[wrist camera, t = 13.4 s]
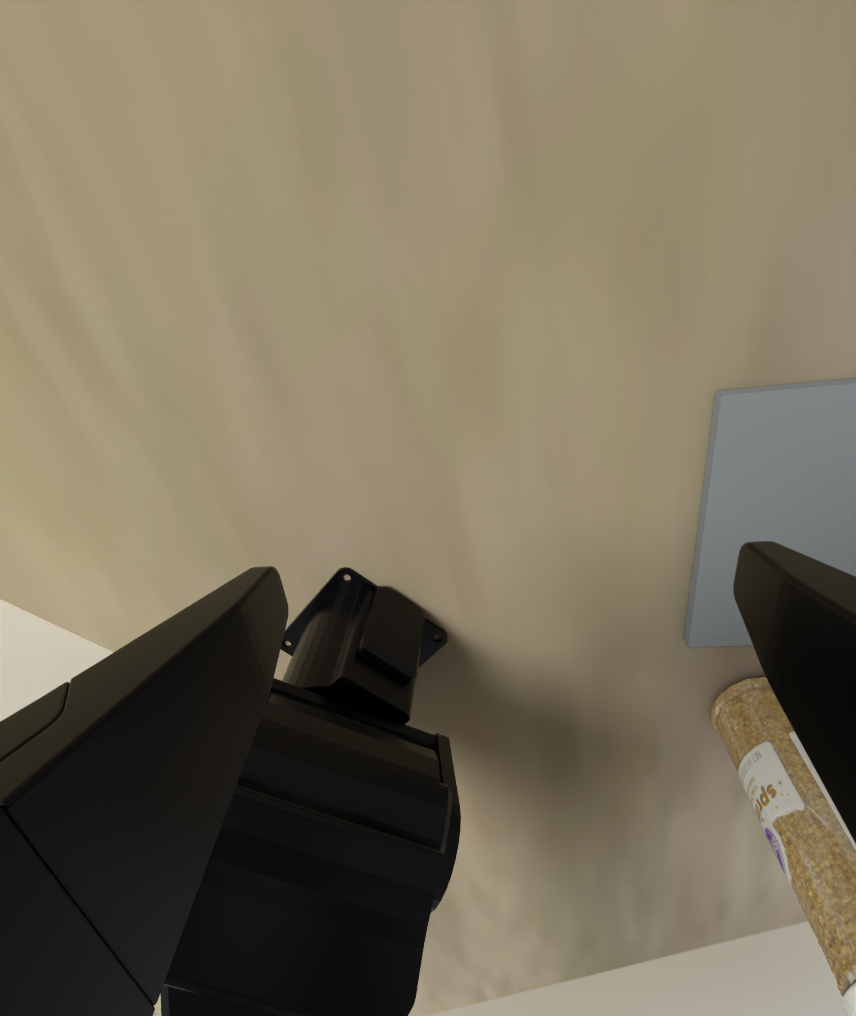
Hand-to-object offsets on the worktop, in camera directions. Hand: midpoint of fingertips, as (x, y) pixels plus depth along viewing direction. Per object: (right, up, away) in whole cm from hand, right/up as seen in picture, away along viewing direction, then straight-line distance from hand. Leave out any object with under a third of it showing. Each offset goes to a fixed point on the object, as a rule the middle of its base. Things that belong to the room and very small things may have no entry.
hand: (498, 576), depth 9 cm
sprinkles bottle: (+15, -9, +18) cm, 25 cm away
